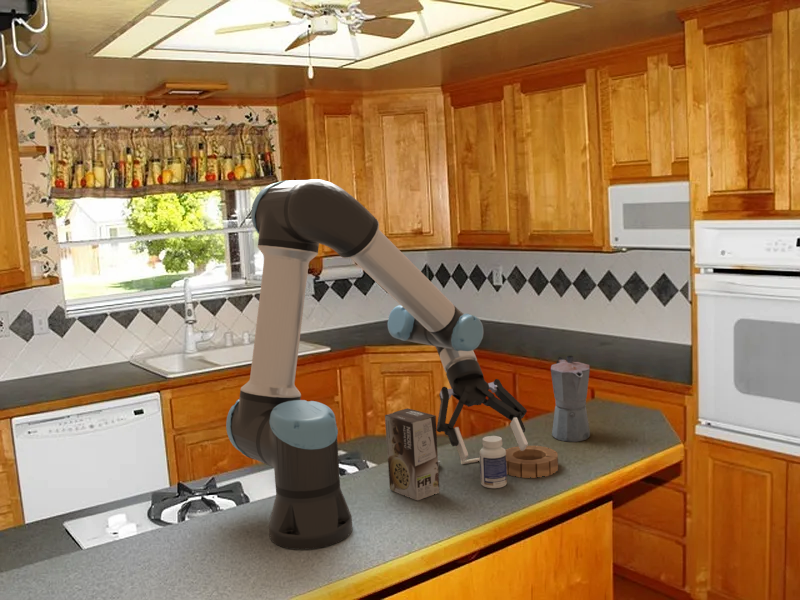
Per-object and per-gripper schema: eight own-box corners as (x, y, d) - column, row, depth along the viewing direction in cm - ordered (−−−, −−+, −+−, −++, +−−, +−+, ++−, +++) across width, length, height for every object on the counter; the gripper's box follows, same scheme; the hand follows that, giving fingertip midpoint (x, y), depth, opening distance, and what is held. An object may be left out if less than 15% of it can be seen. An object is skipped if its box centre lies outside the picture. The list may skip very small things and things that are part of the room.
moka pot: (564, 448, 190) (562, 362, 188) (538, 429, 205) (535, 350, 202) (602, 442, 193) (601, 358, 190) (573, 424, 207) (572, 346, 205)
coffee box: (441, 492, 167) (437, 415, 165) (416, 501, 163) (412, 422, 161) (412, 481, 174) (408, 407, 172) (388, 489, 170) (383, 413, 168)
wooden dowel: (462, 464, 183) (462, 461, 183) (460, 463, 183) (460, 460, 183) (526, 453, 188) (526, 450, 188) (525, 452, 189) (525, 449, 189)
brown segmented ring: (517, 481, 171) (517, 467, 171) (492, 464, 182) (491, 450, 182) (568, 471, 175) (568, 458, 175) (540, 455, 186) (540, 442, 186)
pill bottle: (512, 485, 169) (510, 439, 168) (491, 491, 167) (489, 444, 165) (496, 477, 174) (494, 432, 173) (475, 483, 171) (473, 438, 170)
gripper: (507, 369, 189) (542, 451, 177) (404, 384, 181) (434, 471, 169) (517, 350, 183) (554, 434, 172) (412, 365, 175) (443, 454, 163)
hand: (495, 453), depth 170 cm, fingers open, 13 cm apart
